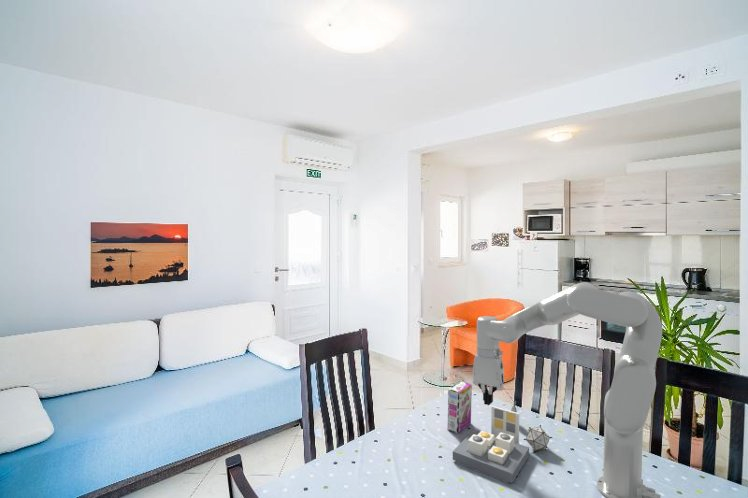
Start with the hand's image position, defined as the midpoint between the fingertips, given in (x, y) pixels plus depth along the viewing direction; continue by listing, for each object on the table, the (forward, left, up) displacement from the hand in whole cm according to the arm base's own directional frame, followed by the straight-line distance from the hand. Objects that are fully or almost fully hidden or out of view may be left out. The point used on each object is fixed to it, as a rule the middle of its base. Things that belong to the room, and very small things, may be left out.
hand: (488, 403), depth 135 cm
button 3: (-6, 0, -15) cm, 16 cm away
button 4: (-6, +7, -17) cm, 19 cm away
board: (-3, +4, -17) cm, 18 cm away
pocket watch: (0, -23, -18) cm, 29 cm away
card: (-3, -10, -17) cm, 20 cm away
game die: (-14, -12, -18) cm, 25 cm away
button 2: (+1, 0, -17) cm, 17 cm away
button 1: (+1, +7, -15) cm, 17 cm away
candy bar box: (+15, -10, -18) cm, 25 cm away
